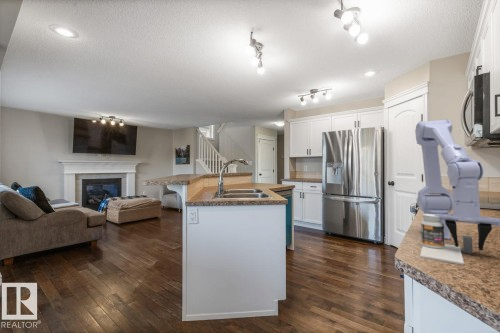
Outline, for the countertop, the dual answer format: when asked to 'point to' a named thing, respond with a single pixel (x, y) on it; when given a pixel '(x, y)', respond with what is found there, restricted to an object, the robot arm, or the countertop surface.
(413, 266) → the countertop surface
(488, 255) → the countertop surface
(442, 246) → the pill bottle
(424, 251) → the pull board
